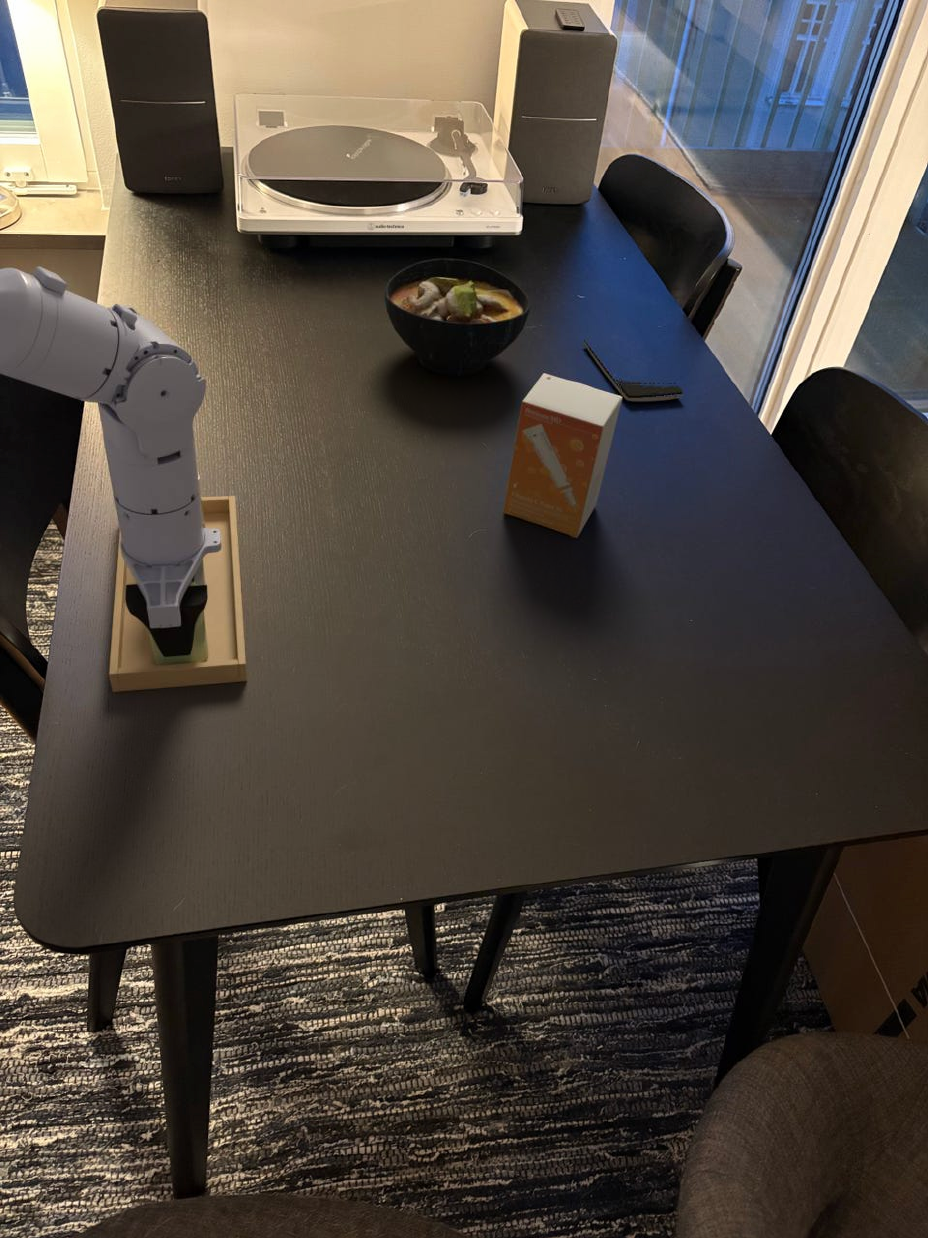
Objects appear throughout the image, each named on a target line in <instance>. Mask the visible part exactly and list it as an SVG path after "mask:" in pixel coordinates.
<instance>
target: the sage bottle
mask: <svg viewBox="0 0 928 1238" xmlns="http://www.w3.org/2000/svg"><path fill="white" fill-rule="evenodd" d="M195 585H197V584H196V583H194V582H192V581H191V582H190V584H189V586H195ZM148 634H149V639H150V645H151V651H152V656H153V659H154V661H155V663H156V664H157V665H158V666H159V665H172V664H185V663H197V662H203V661H204V660H205V659H206V658H207V656H208V653H209V645H208V637H207V628H206V620H205V611H204V610H203V611H202V613H201V614H200V616H199V617H198V619H197V622H196V626H195V632H194V641H193V647H192V651H191V654H190V655H185V656H172V657H164V656H163V655H162V653H161V652H160V650H159V648H158V647H157V645H156V643H155V641H154V639H153V637H152V635H151V633H150V632H149V630H148Z"/></svg>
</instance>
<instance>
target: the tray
mask: <svg viewBox="0 0 928 1238" xmlns="http://www.w3.org/2000/svg"><path fill="white" fill-rule="evenodd" d="M236 502H237V501H236V496H235V495H222V496H221V495H219V496H202V504H203V513H204V523H205V528H206V529H218V530H220V532H221V546H222V548H221V550H220V551H219V552H215V553H208V554H206V555H205V556H204V566H205V575H206V584H207V594H208V599H207V603H206V606H205V609H204V611H205V620H206V628H207V637H208V645H209V653H208V656H207V658H206V659H205V660H204V661H203V662H197V663H185V664H172V665H159V666H158V665H157V664H156V663H155V661H154V659H153V656H152V651H151V645H150V639H149V634H148V629H147V627H146V626H145V625H144V624H143V623H142V622H141V621H140V620H139V619H138V618H136V617H135V616H133V615H132V614H130V612H129V610H128V608H127V606H126V601H125V594H126V585H130V584H137V583H136V581H135V579H134V577H133V576H132V574H131V572H130V570H129V568H128V566H127V565H126V563H125V561H124V559H123V557H122V555H121V550H120V538H121V533H120V531H119V532H118V534H119V535H118V549H117V561H116V575H115V588H114V603H113V616H112V629H111V643H110V655H109V656H110V657H109V670H108V676H109V680H110V684H111V690H112V693H116V692H117V693H119V692H131V691H141V690H143V691H144V690H151V689H152V690H154V689H155V690H156V689H164V688H165V689H167V688H177V687H179V688H180V687H190V686H191V687H192V686H203V685H217V684H228V683H238V682H239V683H241V682H247V681H248V673H247V672H248V669H247V660H246V659H247V657H246V641H245V625H244V612H243V611H244V609H243V593H242V580H241V579H242V578H241V562H240V549H239V547H240V546H239V533H238V519H237V518H238V516H237V504H236Z"/></svg>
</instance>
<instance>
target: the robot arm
mask: <svg viewBox="0 0 928 1238" xmlns="http://www.w3.org/2000/svg"><path fill="white" fill-rule="evenodd" d="M67 287H68V284H67V282H66V281H65V280H64V279H63V278H61V277H60V275H58V273H55V272H53V271H51V270H49V269H46V268H44V267H42V266H36V267H35V269H34V271H33V273H32V275H31V274H29V273H27V272H25V271H22V270H20V269H17V268H14V267H5V268H0V375H3V376H6V377H9V378H12V379H15V380H18V381H21V382H24V383H27V384H29V385H33V386H36V387H40V388H42V389H45V390H49V391H52V392H55V393H58V394H60V395H64V396H67V397H69V398H73V399H76V400H78V401H82V402H87V403H95V404H97V407H98V408H97V409H98V413H99V419H100V424H101V429H102V438H103V439H102V441H103V445H104V449H105V455H106V460H107V467H108V473H109V477H110V483H111V489H112V493H113V501H114V506H115V510H116V516H117V522H118V528H119V532H120V533H121V538H120V550H121V555H122V557H123V559H124V561H125V563H126V565H127V566H128V568H129V570H130V572H131V574H132V576H133V577H134V579H135V581H136V583H137V584H130V585H126V594H125V601H126V606H127V608H128V610H129V612H130V614H132V615H133V616H135V617H136V618H138V619H139V620H140V621H141V622H142V623H143V624H144V625H145V626H146V627H147V629H148V630H149V632H150V633H151V635H152V637H153V639H154V641H155V643H156V645H157V647H158V648H159V650H160V652H161V653H162V655H163V656H164V657H172V656H185V655H190V654H191V651H192V647H193V641H194V632H195V626H196V622H197V619H198V617H199V616H200V614H201V613H202V611H203V610H204V609H205V606H206V603H207V599H208V594H207V585H195V586H189V584H190V582H191V581H192V582H194V576H195V573H196V571H197V569H198V567H199V565H200V564H201V562H202V560H203V558H204V556H205V555H206V554H208V553H215V552H219V551H220V550H221V548H222V546H221V532H220V530H218V529H206V528H205V525H204V524H203V519H202V510H201V501H200V490H199V481H198V473H199V471H198V463H197V462H198V461H197V453H196V445H195V434H194V427H193V424H194V419H195V416H196V414H197V413H198V411H199V409H200V408H201V406H202V404H203V401H204V399H205V395H206V391H207V380H206V378H204V377H202V376H201V375H200V374H199V370H198V366H197V364H196V362H195V361H194V360H193V359H192V356H191V355H190V354H189V353H188V352H187V350H185V349H184V348H182V346H180V345H179V344H178V343H177V342H176V341H175V340H173V339H172V338H171V337H170V336H169V335H168V334H166V333H165V332H164V331H163V330H162V329H160V327H158V326H157V325H156V324H155V323H153V322H152V321H151V320H150V319H148V318H146V317H145V316H143V315H142V314H140V313H138V312H137V311H136V310H135V309H134V307H132V306H128V305H121V304H119V303H115V304H113V306H109V307H106V306H105V305H101V304H100V303H98V302H95V301H93V300H90V299H88V298H85V297H83V296H82V295H81V296H80V295H78V294H76V293H74V292H71V291H69V290H67ZM197 471H198V472H197Z"/></svg>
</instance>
